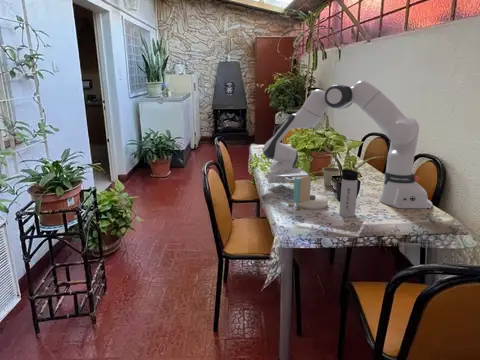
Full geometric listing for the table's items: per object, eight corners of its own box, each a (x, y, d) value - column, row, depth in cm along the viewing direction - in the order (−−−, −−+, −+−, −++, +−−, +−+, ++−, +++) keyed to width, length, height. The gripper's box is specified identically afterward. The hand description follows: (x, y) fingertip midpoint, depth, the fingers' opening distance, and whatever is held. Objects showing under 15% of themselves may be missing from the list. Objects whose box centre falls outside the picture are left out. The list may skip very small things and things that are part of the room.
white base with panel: (312, 197, 176) (313, 169, 172) (334, 205, 164) (336, 176, 161) (285, 203, 167) (285, 174, 163) (306, 212, 156) (307, 182, 152)
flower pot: (339, 187, 195) (340, 172, 193) (321, 186, 197) (322, 171, 195) (338, 182, 204) (339, 167, 202) (321, 182, 206) (322, 167, 204)
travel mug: (345, 212, 159) (349, 167, 154) (357, 217, 154) (361, 171, 148) (335, 215, 156) (338, 169, 151) (347, 220, 151) (351, 173, 145)
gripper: (264, 169, 184) (270, 176, 171) (303, 167, 187) (312, 174, 174) (263, 181, 186) (270, 189, 173) (302, 179, 189) (312, 187, 176)
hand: (292, 181), depth 173 cm, fingers closed
